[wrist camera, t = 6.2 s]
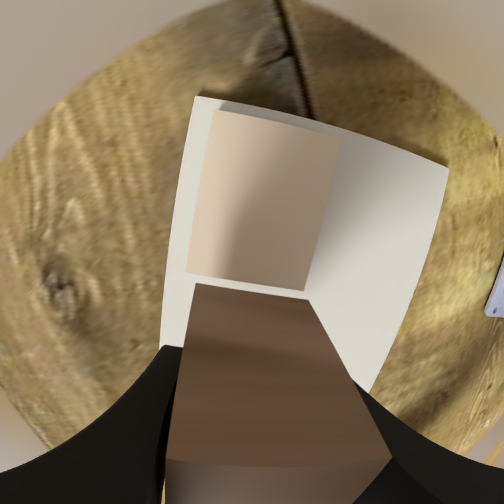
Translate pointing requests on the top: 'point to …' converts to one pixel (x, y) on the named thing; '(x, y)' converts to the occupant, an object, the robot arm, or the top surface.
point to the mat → (329, 239)
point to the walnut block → (266, 408)
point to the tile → (260, 201)
